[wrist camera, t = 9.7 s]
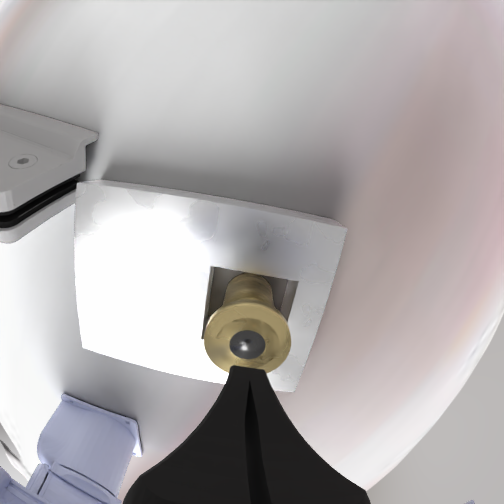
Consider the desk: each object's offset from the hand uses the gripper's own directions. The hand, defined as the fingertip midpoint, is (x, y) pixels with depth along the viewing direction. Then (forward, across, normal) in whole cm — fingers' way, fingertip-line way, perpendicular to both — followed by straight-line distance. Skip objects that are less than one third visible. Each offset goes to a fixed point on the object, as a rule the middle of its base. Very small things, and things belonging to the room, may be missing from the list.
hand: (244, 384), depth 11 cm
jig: (+9, +4, 0) cm, 10 cm away
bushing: (+9, 0, 0) cm, 9 cm away
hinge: (+10, +21, -7) cm, 24 cm away
